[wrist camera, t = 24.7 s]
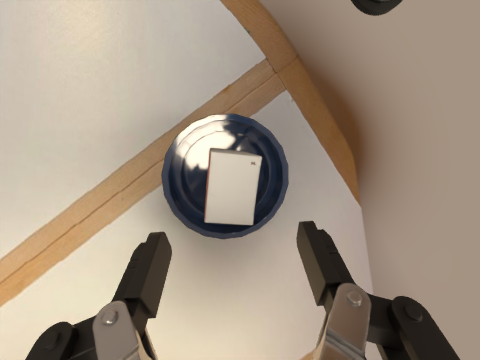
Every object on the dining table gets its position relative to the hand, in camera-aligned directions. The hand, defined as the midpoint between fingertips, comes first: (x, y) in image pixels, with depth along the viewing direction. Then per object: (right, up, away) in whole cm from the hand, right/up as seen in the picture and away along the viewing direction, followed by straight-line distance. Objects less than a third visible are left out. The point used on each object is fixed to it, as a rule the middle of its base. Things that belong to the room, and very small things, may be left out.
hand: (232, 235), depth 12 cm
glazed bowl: (-2, +4, +20) cm, 20 cm away
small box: (-2, +4, +20) cm, 20 cm away
